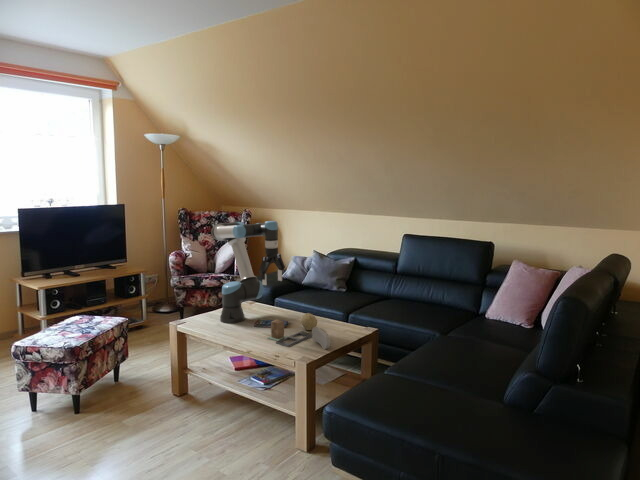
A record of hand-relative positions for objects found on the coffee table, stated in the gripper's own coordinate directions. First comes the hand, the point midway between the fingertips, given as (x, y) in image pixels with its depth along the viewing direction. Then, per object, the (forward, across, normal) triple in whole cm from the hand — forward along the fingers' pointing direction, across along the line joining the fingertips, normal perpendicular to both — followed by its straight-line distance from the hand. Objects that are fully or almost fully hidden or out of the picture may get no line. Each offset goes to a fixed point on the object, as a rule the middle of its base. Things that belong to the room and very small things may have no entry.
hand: (272, 282), depth 286 cm
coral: (+27, +8, -21) cm, 35 cm away
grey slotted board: (+27, -10, -26) cm, 38 cm away
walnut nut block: (+26, -14, -16) cm, 34 cm away
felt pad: (+27, -14, -16) cm, 34 cm away
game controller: (+27, -8, -42) cm, 50 cm away
